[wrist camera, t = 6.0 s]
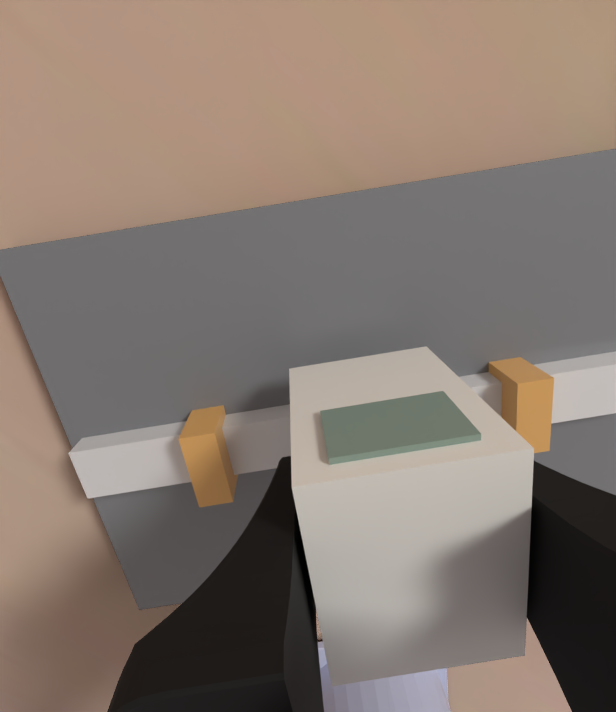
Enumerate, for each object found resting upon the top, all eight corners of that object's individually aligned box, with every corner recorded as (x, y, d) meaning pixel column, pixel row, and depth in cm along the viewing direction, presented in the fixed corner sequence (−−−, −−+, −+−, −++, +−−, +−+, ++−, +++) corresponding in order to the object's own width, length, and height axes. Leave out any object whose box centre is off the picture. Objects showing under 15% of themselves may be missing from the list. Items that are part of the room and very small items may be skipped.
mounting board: (603, 516, 19) (657, 569, 16) (146, 590, 19) (122, 655, 16) (650, 143, 14) (745, 125, 11) (10, 248, 14) (-62, 258, 11)
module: (434, 487, 15) (524, 655, 9) (314, 507, 15) (332, 686, 9) (426, 342, 13) (534, 441, 7) (288, 364, 13) (290, 481, 7)
